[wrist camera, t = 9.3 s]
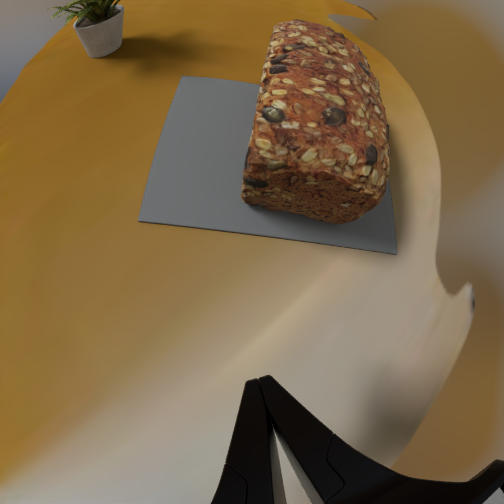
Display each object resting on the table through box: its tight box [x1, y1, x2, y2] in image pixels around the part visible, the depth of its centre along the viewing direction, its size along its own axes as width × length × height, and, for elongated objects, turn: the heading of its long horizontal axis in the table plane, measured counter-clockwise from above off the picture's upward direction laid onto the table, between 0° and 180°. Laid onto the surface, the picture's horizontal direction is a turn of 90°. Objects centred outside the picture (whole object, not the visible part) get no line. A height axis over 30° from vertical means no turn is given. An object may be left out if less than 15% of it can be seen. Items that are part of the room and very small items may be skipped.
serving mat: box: [138, 76, 397, 255], centre depth 25 cm, size 18×24×1 cm
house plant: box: [52, 0, 124, 58], centre depth 17 cm, size 14×14×16 cm
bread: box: [240, 19, 390, 224], centre depth 21 cm, size 19×11×10 cm, turn 171°
